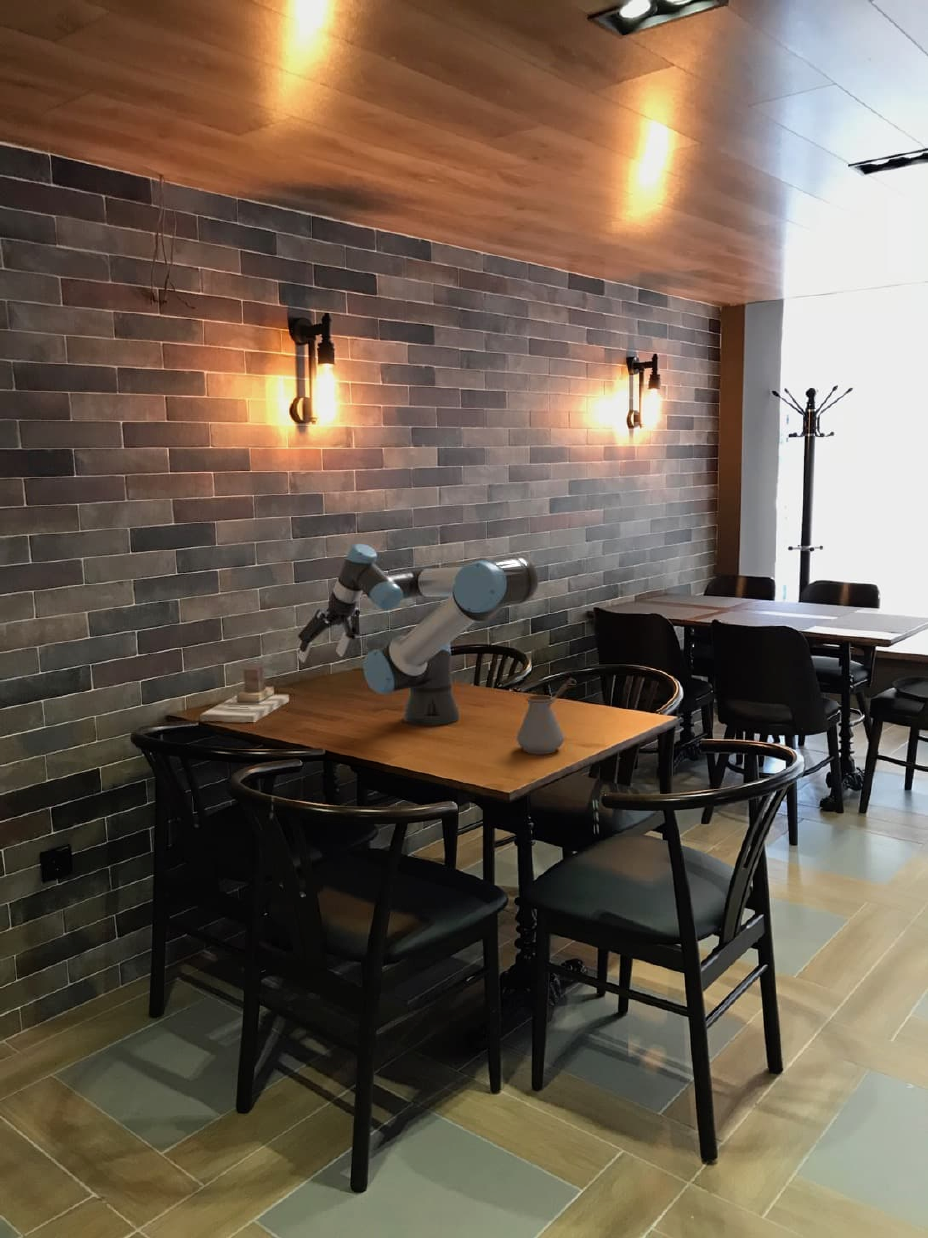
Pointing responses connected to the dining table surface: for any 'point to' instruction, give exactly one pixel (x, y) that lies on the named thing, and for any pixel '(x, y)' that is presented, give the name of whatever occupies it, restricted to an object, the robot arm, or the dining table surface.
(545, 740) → the coffee pot
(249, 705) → the birch board
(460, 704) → the dining table surface
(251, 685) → the sanding block
